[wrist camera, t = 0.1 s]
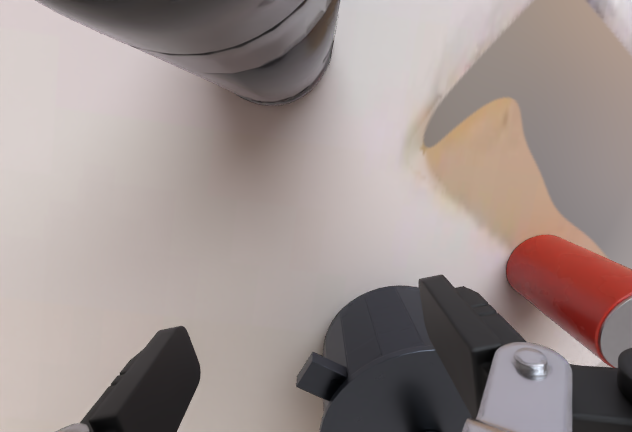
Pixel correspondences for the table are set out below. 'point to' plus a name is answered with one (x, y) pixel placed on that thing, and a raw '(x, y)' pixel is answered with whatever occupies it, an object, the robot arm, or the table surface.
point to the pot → (365, 337)
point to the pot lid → (398, 396)
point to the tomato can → (576, 292)
